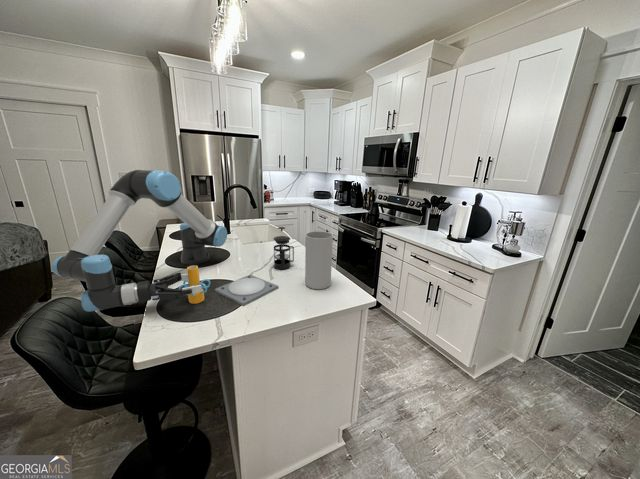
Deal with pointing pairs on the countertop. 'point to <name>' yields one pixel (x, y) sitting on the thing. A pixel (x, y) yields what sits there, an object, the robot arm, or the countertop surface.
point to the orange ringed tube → (194, 281)
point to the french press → (282, 252)
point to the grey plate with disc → (246, 289)
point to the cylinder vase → (318, 259)
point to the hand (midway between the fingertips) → (199, 281)
